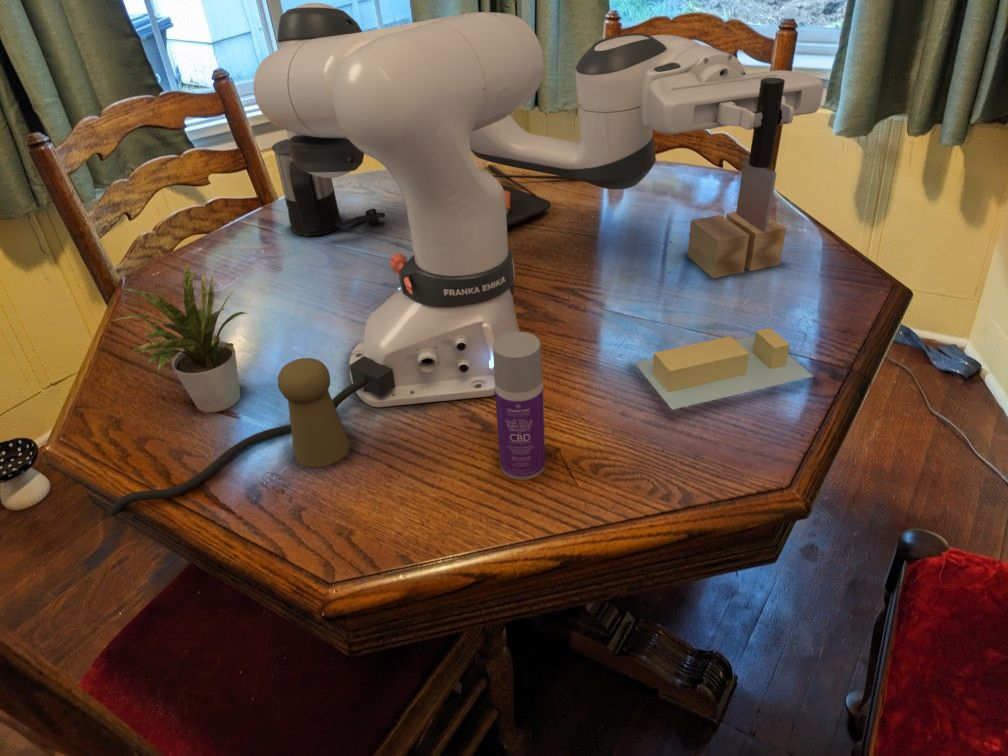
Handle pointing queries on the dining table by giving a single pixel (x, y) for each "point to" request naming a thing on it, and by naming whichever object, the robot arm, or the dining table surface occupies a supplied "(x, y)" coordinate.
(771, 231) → the knife block
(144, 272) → the dining table surface
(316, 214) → the milk frother
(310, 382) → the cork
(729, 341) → the butter stick
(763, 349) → the butter pat
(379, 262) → the dining table surface
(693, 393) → the butter dish
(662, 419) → the dining table surface
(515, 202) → the sushi plate
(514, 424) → the container
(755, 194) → the knife
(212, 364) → the house plant
